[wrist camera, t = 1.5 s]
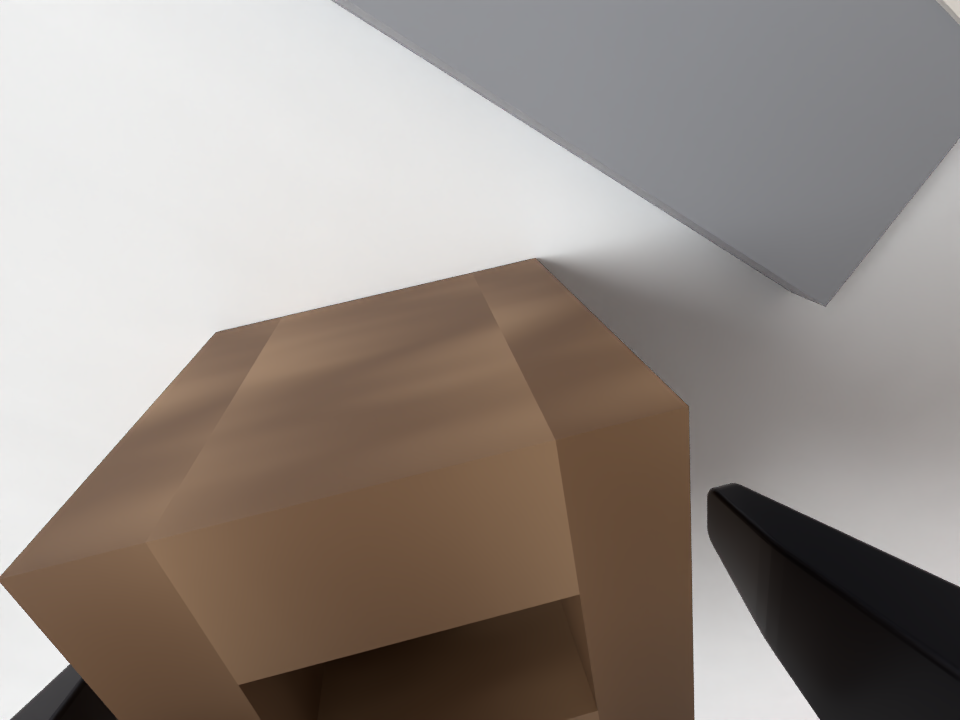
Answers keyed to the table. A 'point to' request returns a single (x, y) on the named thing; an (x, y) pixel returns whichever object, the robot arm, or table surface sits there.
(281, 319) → the hollow wooden cube
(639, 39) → the switch plate
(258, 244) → the table surface
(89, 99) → the table surface
